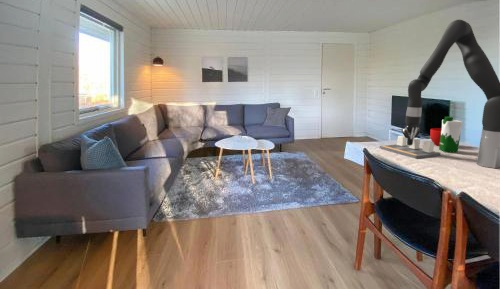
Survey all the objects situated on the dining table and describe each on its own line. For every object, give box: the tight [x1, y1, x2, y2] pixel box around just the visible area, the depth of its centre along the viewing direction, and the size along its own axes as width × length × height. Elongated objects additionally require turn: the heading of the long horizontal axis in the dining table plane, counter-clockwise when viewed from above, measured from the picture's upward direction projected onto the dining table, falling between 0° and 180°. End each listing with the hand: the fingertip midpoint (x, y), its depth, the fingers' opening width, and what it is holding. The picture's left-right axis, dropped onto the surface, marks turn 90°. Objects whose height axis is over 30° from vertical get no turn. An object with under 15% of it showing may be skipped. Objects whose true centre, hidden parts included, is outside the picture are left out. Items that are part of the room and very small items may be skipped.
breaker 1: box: [395, 135, 407, 146], centre depth 179 cm, size 4×4×6 cm
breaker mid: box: [409, 137, 421, 149], centre depth 171 cm, size 4×4×6 cm
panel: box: [379, 143, 442, 160], centre depth 170 cm, size 26×18×2 cm
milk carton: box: [438, 116, 464, 154], centre depth 169 cm, size 9×9×20 cm
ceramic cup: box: [429, 127, 442, 147], centre depth 185 cm, size 13×17×10 cm
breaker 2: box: [422, 140, 435, 153], centre depth 162 cm, size 4×4×6 cm
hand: (409, 145), depth 169 cm, fingers closed
